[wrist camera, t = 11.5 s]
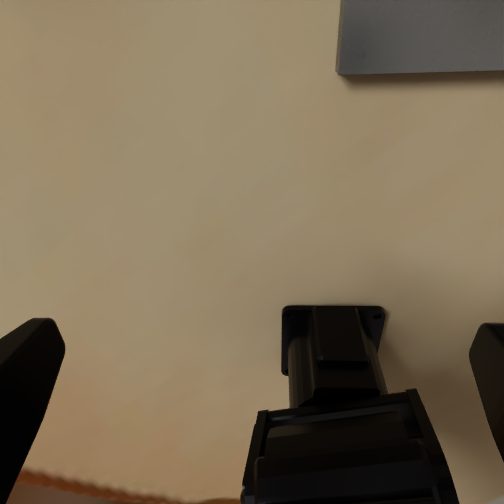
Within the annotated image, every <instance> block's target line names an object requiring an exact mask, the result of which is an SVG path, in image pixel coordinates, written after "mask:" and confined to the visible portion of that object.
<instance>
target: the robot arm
mask: <svg viewBox="0 0 504 504" xmlns="http://www.w3.org/2000/svg"><path fill="white" fill-rule="evenodd" d="M287 313H292V314H287ZM377 313H379V314H378V315H375V314H377ZM384 320H385V312H384V309H383V308H382V307H379V306H286V307H284V308H283V309H282V354H281V372H282V374H283V375H285V376H289V402H290V408H288V409H281V410H274V411H268V410H263V411H258V415H257V420H256V424H255V425H254V429H253V434H252V439H251V444H250V448H249V453H248V458H247V463H246V467H245V472H244V477H243V482H242V487H243V490H242V492H241V496H240V500H241V504H459V501H458V497H457V493H456V490H455V486H454V483H453V480H452V476H451V473H450V470H449V467H448V464H447V461H446V459H445V456H444V453H443V451H442V448H441V446H440V443H439V441H438V438H437V436H436V434H435V431H434V429H433V427H432V424H431V422H430V420H429V417H428V415H427V413H426V410H425V408H424V406H423V403H422V401H421V399H420V396H419V394H418V392H417V389H416V388H415V389H408V390H406V392H400V393H393V394H388V391H387V388H386V384H385V381H384V377H383V373H382V370H381V366H380V362H379V359H378V355H377V353H378V348H379V343H380V339H381V334H382V330H383V325H384ZM64 355H65V343H64V340H63V338H62V336H61V334H60V331H59V329H58V327H57V325H56V323H55V321H54V320H53V319H51V318H32V319H30V320H28V321H27V322H25V323H24V324H22V325H21V326H19V327H18V328H16V329H15V330H13V331H11V332H10V333H8V334H7V335H5V336H4V337H2V338H1V339H0V504H6V502H7V500H8V498H9V495H10V493H11V491H12V489H13V486H14V484H15V482H16V480H17V477H18V475H19V473H20V471H21V468H22V466H23V464H24V462H25V459H26V457H27V455H28V453H29V451H30V448H31V446H32V444H33V442H34V439H35V437H36V435H37V433H38V430H39V428H40V426H41V423H42V421H43V418H44V415H45V413H46V410H47V407H48V404H49V401H50V398H51V395H52V392H53V389H54V386H55V383H56V380H57V376H58V373H59V370H60V367H61V364H62V361H63V358H64ZM469 359H470V363H471V367H472V370H473V373H474V377H475V380H476V383H477V387H478V390H479V393H480V397H481V400H482V403H483V407H484V410H485V413H486V417H487V420H488V423H489V426H490V429H491V432H492V435H493V437H494V440H495V442H496V445H497V447H498V450H499V452H500V454H501V457H502V459H503V462H504V323H483V324H482V325H480V327H479V329H478V331H477V333H476V336H475V338H474V341H473V343H472V346H471V348H470V352H469Z"/></svg>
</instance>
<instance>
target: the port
mask: <svg viewBox="0 0 504 504" xmlns="http://www.w3.org/2000/svg"><path fill="white" fill-rule="evenodd" d="M491 70H504V0H341V6H340V19H339V31H338V44H337V57H336V69H335V71H336V72H337V74H338V75H353V74H388V73H422V72H456V71H491Z"/></svg>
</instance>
